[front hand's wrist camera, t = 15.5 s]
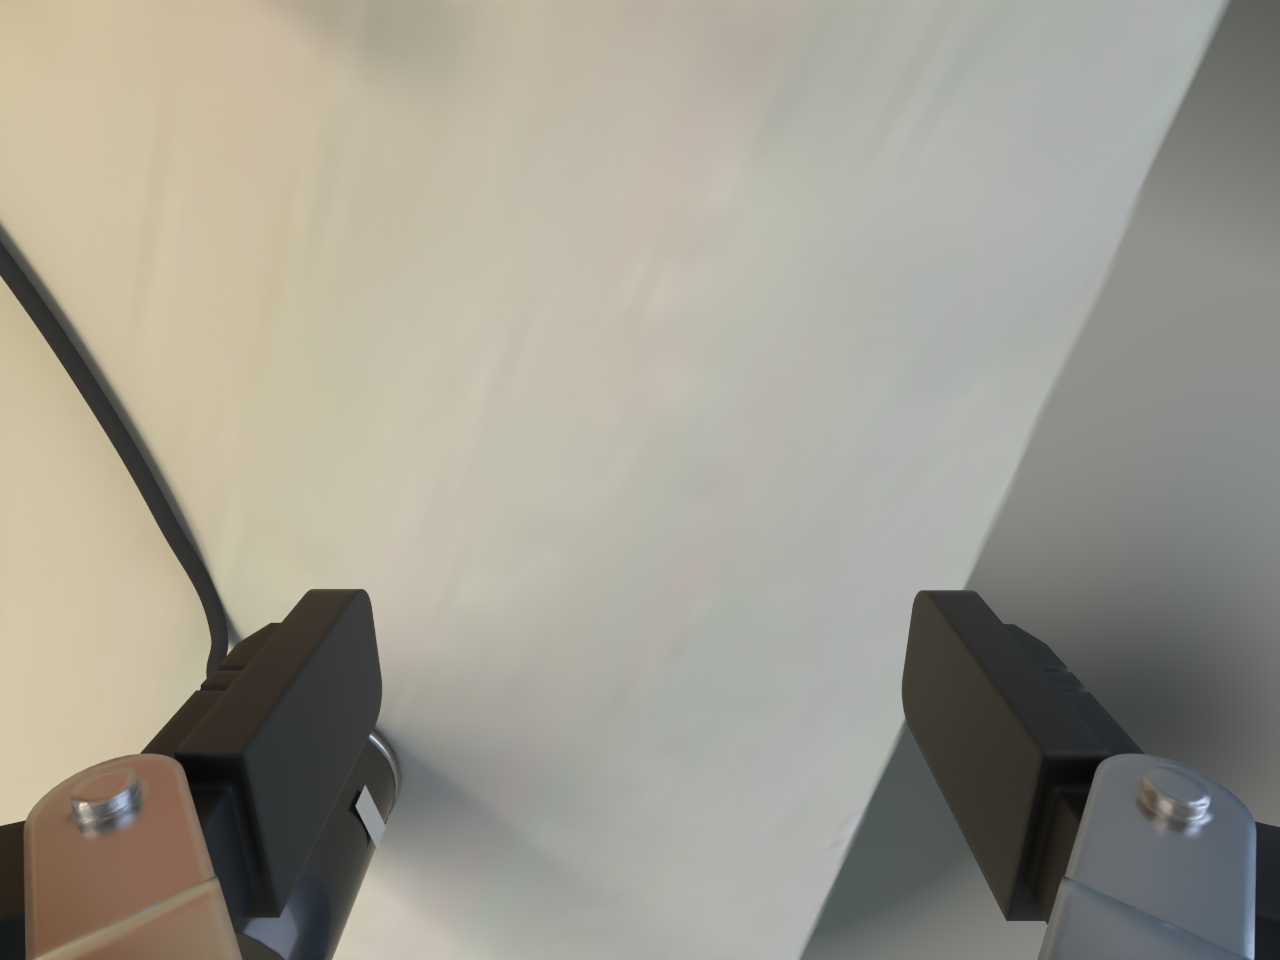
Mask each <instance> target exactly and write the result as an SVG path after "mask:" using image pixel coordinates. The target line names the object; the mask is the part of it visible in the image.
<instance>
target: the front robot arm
mask: <svg viewBox="0 0 1280 960" xmlns="http://www.w3.org/2000/svg"><path fill="white" fill-rule="evenodd" d="M0 276H1V277H2V278H3V280H4V281H5V282H6V284H7V285H8V287H9V288H10V289H11V291H12V292H13V293H14V295H15V296H16V298H17V299H18V300H19V302H20V303H21V305H22V306H23V307H24V309H25V310H26V312H27V313H28V315H29V316H30V317H31V319H32V320H33V322H34V323H35V325H36V326H37V327H38V329H39V330H40V332H41V333H42V335H43V336H44V338H45V339H46V341H47V342H48V344H49V345H50V347H51V348H52V350H53V351H54V353H55V354H56V356H57V357H58V359H59V360H60V362H61V363H62V365H63V366H64V368H65V369H66V371H67V373H68V374H69V376H70V377H71V379H72V380H73V382H74V383H75V385H76V386H77V388H78V390H79V391H80V393H81V394H82V396H83V397H84V399H85V401H86V402H87V404H88V405H89V407H90V408H91V410H92V412H93V413H94V415H95V416H96V418H97V420H98V421H99V423H100V424H101V426H102V428H103V429H104V431H105V432H106V434H107V436H108V437H109V439H110V441H111V442H112V444H113V445H114V447H115V449H116V450H117V452H118V454H119V456H120V457H121V459H122V461H123V462H124V464H125V466H126V467H127V469H128V471H129V473H130V474H131V476H132V478H133V480H134V482H135V483H136V485H137V487H138V489H139V491H140V492H141V494H142V496H143V498H144V500H145V501H146V503H147V505H148V507H149V509H150V511H151V513H152V515H153V516H154V518H155V520H156V522H157V524H158V526H159V528H160V529H161V531H162V533H163V535H164V536H165V538H166V540H167V542H168V543H169V545H170V547H171V548H172V550H173V552H174V553H175V555H176V556H177V558H178V560H179V561H180V563H181V565H182V566H183V568H184V569H185V571H186V573H187V574H188V576H189V578H190V580H191V581H192V583H193V585H194V587H195V589H196V591H197V593H198V595H199V597H200V600H201V602H202V605H203V607H204V610H205V613H206V617H207V620H208V624H209V629H210V634H211V641H212V644H211V650H210V654H209V658H208V662H207V671H206V674H207V679H206V680H205V681H204V682H203V683H202V685H201V689H200V691H195V692H194V694H193V695H192V696H191V697H190V698H189V699H188V700H187V701H186V703H185V704H184V705H183V706H182V707H181V708H180V709H179V710H178V712H177V713H176V714H175V715H174V716H173V717H172V718H171V719H170V720H169V722H168V723H167V724H166V725H165V726H164V727H163V728H162V729H161V731H160V732H159V733H158V734H157V735H156V736H155V737H154V738H153V740H152V741H151V742H150V743H149V744H148V745H147V746H146V747H145V749H144V750H143V751H142V752H141V753H140V754H135V755H128V756H123V757H119V758H114V759H111V760H108V761H105V762H102V763H99V764H97V765H94V766H91V767H89V768H87V769H85V770H83V771H81V772H79V773H77V774H75V775H73V776H71V777H70V778H68V779H66V780H64V781H63V782H62V783H60V784H59V785H57V786H56V787H54V788H53V789H52V790H51V791H49V792H48V793H47V794H46V795H45V796H44V797H42V799H41V800H40V801H39V802H38V803H37V804H36V805H35V806H34V807H33V809H32V810H31V812H30V813H29V815H28V817H27V819H26V821H21V822H17V823H12V824H8V825H3V826H0V960H332V959H333V956H334V953H335V951H336V948H337V946H338V943H339V941H340V938H341V936H342V933H343V931H344V928H345V925H346V923H347V920H348V918H349V915H350V913H351V910H352V908H353V905H354V902H355V900H356V897H357V895H358V892H359V890H360V887H361V885H362V882H363V879H364V877H365V874H366V872H367V869H368V867H369V864H370V862H371V859H372V856H373V854H374V851H375V849H376V848H377V850H378V848H379V845H380V843H381V840H382V837H383V835H384V832H385V830H386V826H385V824H386V822H387V819H388V815H389V814H390V812H391V811H392V809H393V807H394V804H395V801H396V799H397V796H398V794H399V790H400V785H401V772H400V766H399V763H398V760H397V757H396V755H395V753H394V751H393V750H392V748H391V746H390V745H389V744H388V742H387V741H386V740H385V739H384V738H383V737H382V736H381V735H380V734H379V733H378V732H377V731H376V730H375V729H374V726H375V724H376V722H377V719H378V715H379V712H380V706H381V699H382V679H381V671H380V664H379V657H378V649H377V642H376V635H375V628H374V620H373V613H372V606H371V601H370V598H369V595H368V594H367V592H366V591H365V590H363V589H311V590H309V591H308V592H307V593H306V594H305V595H304V596H303V598H302V599H301V600H300V601H299V602H298V604H297V605H296V606H295V607H294V608H293V610H292V611H291V612H290V613H289V614H288V616H287V617H286V618H285V619H284V620H283V622H282V623H270V624H268V625H267V626H265V627H263V628H262V629H260V630H259V631H257V632H255V633H254V634H252V635H250V636H249V637H247V638H246V639H244V640H242V641H241V642H239V643H238V644H237V645H236V646H235V647H234V649H233V650H232V651H231V652H230V653H229V654H228V655H227V651H228V632H227V627H226V622H225V618H224V614H223V610H222V607H221V604H220V601H219V599H218V596H217V594H216V591H215V589H214V587H213V585H212V582H211V580H210V578H209V576H208V574H207V572H206V571H205V569H204V567H203V565H202V563H201V562H200V560H199V558H198V557H197V555H196V553H195V552H194V550H193V548H192V547H191V545H190V543H189V542H188V540H187V538H186V537H185V535H184V533H183V531H182V530H181V528H180V526H179V524H178V522H177V521H176V519H175V517H174V515H173V513H172V511H171V509H170V507H169V505H168V503H167V502H166V500H165V498H164V496H163V494H162V492H161V490H160V488H159V486H158V485H157V483H156V481H155V479H154V477H153V475H152V474H151V472H150V470H149V468H148V466H147V465H146V463H145V461H144V459H143V458H142V456H141V454H140V452H139V451H138V449H137V447H136V445H135V444H134V442H133V440H132V439H131V437H130V435H129V434H128V432H127V430H126V429H125V427H124V425H123V424H122V422H121V420H120V419H119V417H118V416H117V414H116V412H115V411H114V409H113V407H112V406H111V404H110V403H109V401H108V399H107V398H106V396H105V395H104V393H103V391H102V390H101V388H100V387H99V385H98V383H97V382H96V380H95V379H94V377H93V375H92V374H91V372H90V371H89V369H88V368H87V366H86V364H85V363H84V361H83V360H82V358H81V357H80V355H79V354H78V352H77V350H76V349H75V347H74V346H73V344H72V343H71V341H70V340H69V338H68V337H67V335H66V334H65V332H64V331H63V329H62V328H61V326H60V325H59V323H58V322H57V320H56V319H55V317H54V316H53V314H52V313H51V311H50V310H49V309H48V307H47V306H46V304H45V303H44V301H43V300H42V298H41V297H40V296H39V294H38V293H37V291H36V290H35V289H34V287H33V286H32V284H31V283H30V282H29V280H28V279H27V277H26V276H25V275H24V273H23V272H22V270H21V269H20V268H19V266H18V265H17V264H16V262H15V261H14V259H13V258H12V257H11V255H10V254H9V253H8V251H7V250H6V248H5V247H4V246H3V244H2V243H1V242H0ZM902 701H903V708H904V713H905V717H906V720H907V723H908V726H909V728H910V730H911V732H912V734H913V736H914V738H915V740H916V742H917V744H918V746H919V748H920V750H921V752H922V754H923V756H924V758H925V760H926V762H927V764H928V766H929V768H930V770H931V772H932V774H933V776H934V778H935V780H936V782H937V784H938V786H939V788H940V790H941V792H942V793H943V796H944V798H945V799H946V802H947V804H948V805H949V808H950V809H951V811H952V813H953V815H954V817H955V819H956V821H957V823H958V825H959V827H960V829H961V831H962V833H963V835H964V837H965V839H966V841H967V843H968V845H969V847H970V849H971V851H972V853H973V855H974V857H975V859H976V861H977V863H978V865H979V867H980V869H981V871H982V873H983V875H984V877H985V879H986V881H987V883H988V885H989V887H990V889H991V891H992V893H993V895H994V897H995V899H996V901H997V903H998V905H999V907H1000V909H1001V911H1002V913H1003V915H1004V917H1005V919H1006V921H1046V923H1047V925H1048V926H1047V930H1046V933H1045V936H1044V940H1043V943H1042V946H1041V950H1040V953H1039V956H1038V960H1280V827H1276V826H1271V825H1267V824H1263V823H1259V822H1255V821H1254V819H1253V817H1252V815H1251V813H1250V812H1249V810H1248V809H1247V807H1246V806H1245V805H1244V804H1243V803H1242V802H1241V801H1240V800H1239V799H1238V797H1236V796H1235V795H1234V794H1233V793H1232V792H1231V791H1229V790H1228V789H1227V788H1226V787H1224V786H1223V785H1221V784H1220V783H1218V782H1217V781H1215V780H1214V779H1212V778H1210V777H1209V776H1207V775H1205V774H1203V773H1201V772H1199V771H1197V770H1195V769H1193V768H1191V767H1189V766H1186V765H1183V764H1181V763H1178V762H1175V761H1172V760H1169V759H1166V758H1161V757H1157V756H1152V755H1145V754H1144V752H1143V751H1142V750H1141V749H1140V748H1139V747H1138V746H1137V745H1136V744H1135V743H1134V741H1133V740H1132V739H1131V738H1130V737H1129V736H1128V735H1127V734H1126V733H1125V731H1124V730H1123V729H1122V728H1121V727H1120V726H1119V725H1118V724H1117V722H1116V721H1115V720H1114V719H1113V718H1112V717H1111V716H1110V715H1109V714H1108V712H1107V711H1106V710H1105V709H1104V708H1103V707H1102V706H1101V705H1100V703H1099V702H1098V701H1097V700H1096V699H1095V698H1094V697H1093V696H1092V695H1091V693H1089V692H1085V687H1084V686H1083V685H1082V683H1081V682H1080V681H1079V680H1078V679H1077V678H1076V677H1075V676H1074V675H1073V673H1072V672H1068V671H1067V667H1066V666H1065V665H1064V663H1063V662H1062V661H1061V660H1060V659H1059V658H1058V657H1057V656H1056V655H1055V653H1054V652H1053V651H1052V650H1051V649H1050V648H1049V647H1048V646H1047V644H1045V643H1043V642H1042V641H1040V640H1039V639H1037V638H1035V637H1034V636H1032V635H1030V634H1029V633H1027V632H1026V631H1024V630H1022V629H1021V628H1019V627H1017V626H1016V625H1014V624H1003V623H1002V622H1001V621H1000V620H999V618H998V617H997V616H996V615H995V614H994V612H993V611H992V610H991V609H990V608H989V606H988V605H987V604H986V603H985V602H984V600H983V599H982V598H981V597H980V596H979V595H978V594H977V593H976V592H975V591H971V590H922V591H920V592H918V594H917V595H916V597H915V600H914V603H913V608H912V615H911V622H910V629H909V637H908V644H907V651H906V658H905V665H904V672H903V680H902Z"/></svg>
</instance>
